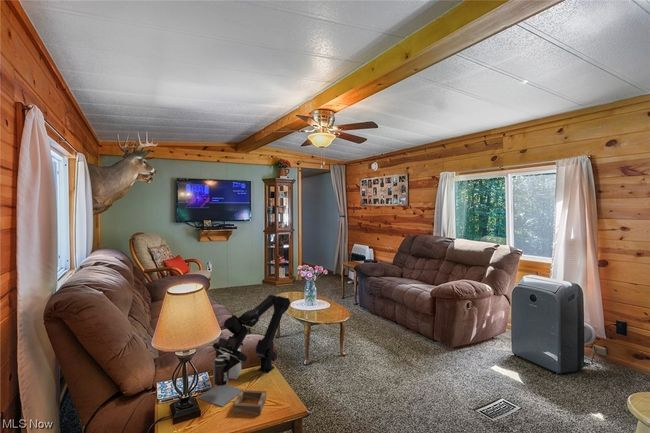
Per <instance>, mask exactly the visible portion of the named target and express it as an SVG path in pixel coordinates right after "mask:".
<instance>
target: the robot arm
mask: <svg viewBox="0 0 650 433" xmlns="http://www.w3.org/2000/svg"><path fill="white" fill-rule="evenodd" d="M290 305H291V300H290V299H289V297H286V296H282V295H275V294H269V295H267V297H266V298H265V299H264V300H263V301H262V302H260V303H259V304H258V305H257V306H256V307H254V308H253V309H250V310H247V311H245V312H243V313H242V314H241V315H240V316H236V315H235V314H232V315H231V316H230V317H228V318H227V319H226V320H225V321H224V323H223V327H224V328H225V330H227V331H228V332H230V333H231V334H232V336H231V335H230V336H228V338H227V337H219V339H218V342H217V341H216V342H214V343H213V344H212V348H213V349H214V351H215V357H217V356H219V355H224V353H225V352H226V353H228V354H230V360H229V362H228V363H227V365H226V367H225V369H224V373H226V372H227V371H228V370H230V369H231V368H232V367H233V366H235V365H236V364H238V363H241V364H242V363H246V362H247V360H248V356H247V354H245V353H244V352H243V351H241V352H240V351H238V349H239V348H241V346H244V342H243V341H244V340H245V338H246V337H247V335H248V334H249V335H251V334H252V331H251V330H252V329H251V328H252V327H254V326H256V324H257V323H258V322H259V321H260V318H261V316H262V315H264V314H265V313H266V312H267V311H268V310H269V309H270V308H272V307H273V313H272V315H271V318H270V321H269V323H268V326H267V329H266V332H265V334H264V336H263V338H262V339H259V340H258V341H257V344H256V346H255V353H256V355H257V356H256V357H257V358H260V366H259V368H258V369H257V370H258V371H260V372H264V373H267V372H268V373H270V372H271V371H272V370H273V369H275V368H276V366H275V365H273V361H274V360H275V359H276V358H277V353H276V352H275V351H274V346H275V345H274V339H275V336H276V332H277V330H278V328H279V325H280V323H281V320H282V317H283V315H284V314H285V313H286V312H287V311H288V310H289V307H290ZM231 355H233V356H231ZM240 361H241V362H240ZM274 366H275V367H274ZM213 368H214V365H213Z"/></svg>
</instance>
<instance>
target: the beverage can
mask: <svg viewBox="0 0 650 433" xmlns="http://www.w3.org/2000/svg"><path fill="white" fill-rule="evenodd" d="M228 362H229V359H228V356H227V355H219V356H217V357H216V356H215V357H214V360H213V366H214V367H213V384H214V386H216V385H217V386H223V385H228V383H229V382H230V378H229V370H228V371H227V372H226V373H224V369H225V367H226V365H227V363H228Z"/></svg>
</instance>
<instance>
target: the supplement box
mask: <svg viewBox="0 0 650 433" xmlns="http://www.w3.org/2000/svg"><path fill="white" fill-rule="evenodd" d="M238 351H240V352H242V348H241V347H239V349H238ZM224 355H227V356H228V359H229V360H230V354H228V353H226V352H225V353H224ZM231 356H233V355H231ZM240 362H241V363H238V364H236V365H235V366H233V367H232V368H231V369H230V370H229V380H230V379H233V380H237V379H238V377H239V376H240V374H241V373H242V361H240Z"/></svg>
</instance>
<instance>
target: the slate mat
mask: <svg viewBox="0 0 650 433" xmlns="http://www.w3.org/2000/svg"><path fill="white" fill-rule="evenodd" d="M241 390H243V389H241V388H238V387H236V386H235V387H234V386H232V385H229V384H226V385H223V386H217V385H214V386H213V387H212V388H210V389H208V390H207V391H205V393H203V394H202V395H200V396H199V397H197V399H198V400H201V401H203V402H206V403H209V404H212V405H216V406H218V407H220V408H224V407H225V406H226V405H227V404H229V403H230V402H231V401H232V400H233V399H235V398H237V397H238V395H239V393H240V391H241Z"/></svg>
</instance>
